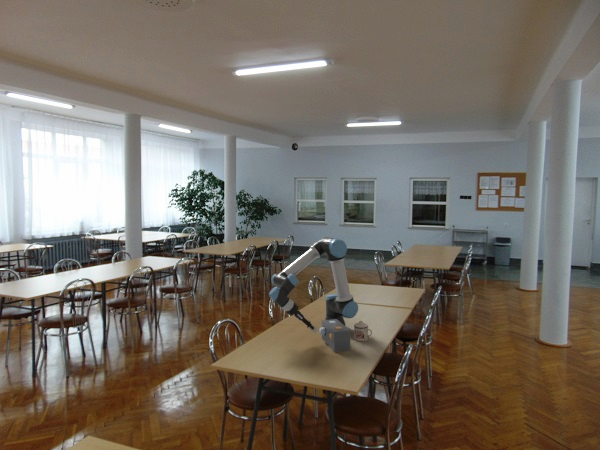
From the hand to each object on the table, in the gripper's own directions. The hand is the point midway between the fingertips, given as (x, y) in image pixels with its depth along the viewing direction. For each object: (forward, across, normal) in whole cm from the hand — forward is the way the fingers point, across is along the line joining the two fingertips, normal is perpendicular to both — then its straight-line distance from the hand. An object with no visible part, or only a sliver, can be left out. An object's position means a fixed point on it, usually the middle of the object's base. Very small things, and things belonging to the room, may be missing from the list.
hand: (316, 331), depth 260 cm
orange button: (+7, +12, +3) cm, 14 cm away
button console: (+12, +6, +2) cm, 14 cm away
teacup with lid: (+27, +2, +16) cm, 31 cm away
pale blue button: (+5, 0, +1) cm, 5 cm away
